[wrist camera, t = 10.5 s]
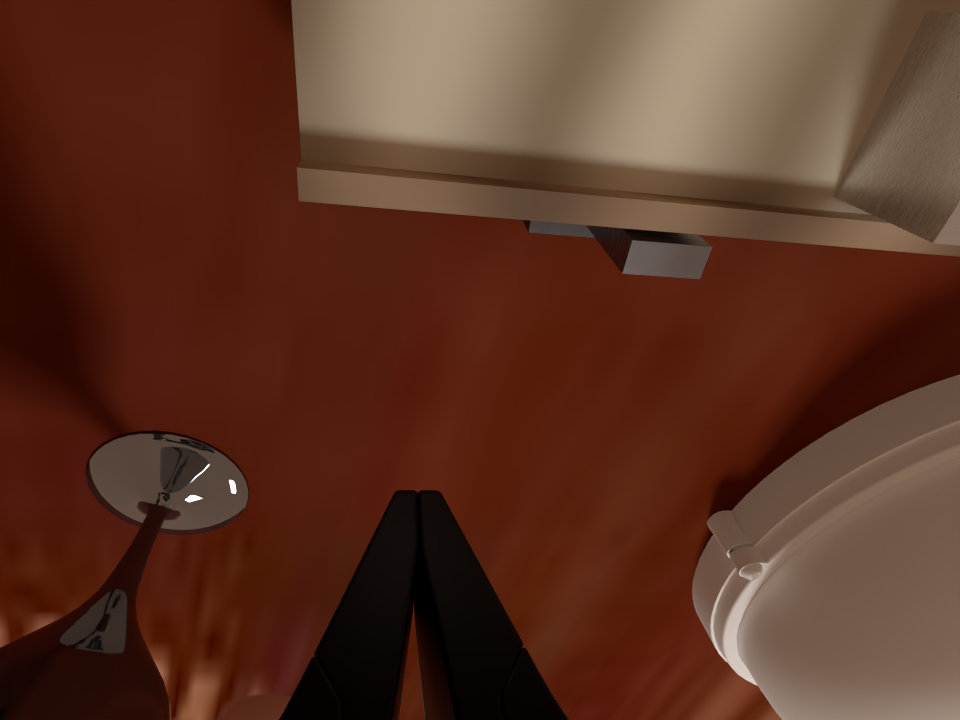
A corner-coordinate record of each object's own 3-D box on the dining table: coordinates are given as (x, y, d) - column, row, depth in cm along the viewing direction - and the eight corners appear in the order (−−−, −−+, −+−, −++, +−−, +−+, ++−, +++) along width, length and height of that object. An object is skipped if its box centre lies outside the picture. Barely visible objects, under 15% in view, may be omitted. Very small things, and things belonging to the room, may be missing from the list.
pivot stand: (523, 222, 19) (556, 289, 15) (596, -194, 13) (689, -291, 9) (673, 235, 20) (746, 302, 16) (804, -148, 14) (984, -215, 10)
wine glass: (278, 456, 25) (148, 903, 13) (233, 552, 28) (97, 973, 16) (89, 402, 22) (-318, 912, 10) (65, 517, 26) (-253, 993, 13)
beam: (316, 167, 15) (298, 201, 13) (300, -168, 11) (269, -215, 9) (993, 231, 19) (1080, 266, 17) (1156, -2, 15) (1302, -2, 13)
